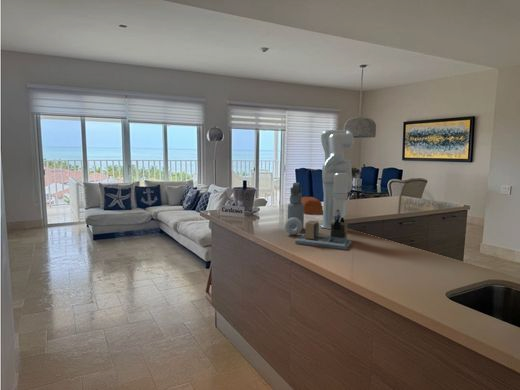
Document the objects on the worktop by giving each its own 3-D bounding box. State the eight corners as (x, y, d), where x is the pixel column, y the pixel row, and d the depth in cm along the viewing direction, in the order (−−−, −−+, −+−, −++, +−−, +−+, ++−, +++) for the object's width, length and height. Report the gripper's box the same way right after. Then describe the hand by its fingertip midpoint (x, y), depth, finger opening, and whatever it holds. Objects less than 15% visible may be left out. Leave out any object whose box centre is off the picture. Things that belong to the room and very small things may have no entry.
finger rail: (302, 238, 190) (303, 219, 189) (351, 243, 180) (352, 223, 178) (295, 243, 179) (295, 223, 178) (346, 249, 168) (347, 228, 167)
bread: (303, 214, 263) (303, 200, 261) (297, 208, 289) (297, 195, 288) (323, 214, 264) (324, 200, 262) (316, 208, 290) (316, 196, 289)
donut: (284, 235, 196) (285, 218, 194) (284, 234, 199) (284, 216, 198) (302, 235, 196) (303, 218, 195) (301, 234, 199) (302, 217, 198)
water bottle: (302, 231, 207) (303, 184, 203) (286, 230, 209) (287, 183, 205) (304, 227, 217) (305, 182, 213) (288, 226, 219) (289, 182, 215)
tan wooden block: (345, 241, 185) (345, 224, 184) (330, 239, 188) (330, 223, 187) (346, 239, 189) (347, 222, 188) (332, 237, 193) (332, 221, 191)
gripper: (336, 194, 195) (335, 225, 197) (329, 197, 179) (328, 230, 181) (350, 195, 192) (349, 226, 193) (344, 198, 176) (343, 231, 178)
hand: (339, 228), depth 187 cm, fingers open, 9 cm apart
